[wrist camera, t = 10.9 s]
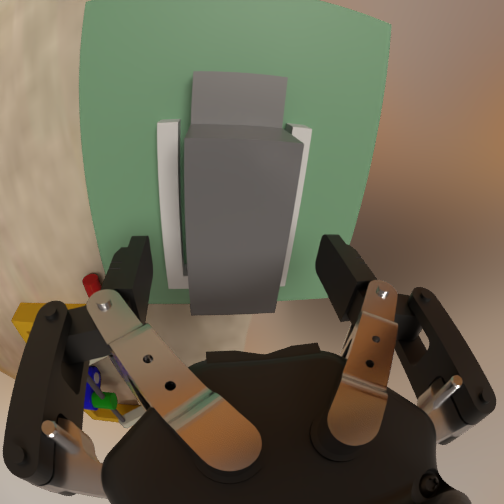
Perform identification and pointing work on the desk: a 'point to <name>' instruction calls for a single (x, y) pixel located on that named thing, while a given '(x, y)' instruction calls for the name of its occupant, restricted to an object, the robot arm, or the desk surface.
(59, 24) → the desk surface
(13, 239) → the desk surface
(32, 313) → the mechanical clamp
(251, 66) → the green plate with u-rail
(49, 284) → the desk surface
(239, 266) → the grey stepped block
